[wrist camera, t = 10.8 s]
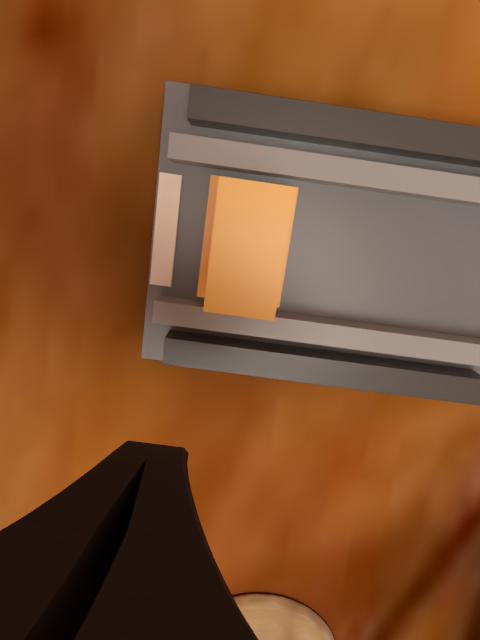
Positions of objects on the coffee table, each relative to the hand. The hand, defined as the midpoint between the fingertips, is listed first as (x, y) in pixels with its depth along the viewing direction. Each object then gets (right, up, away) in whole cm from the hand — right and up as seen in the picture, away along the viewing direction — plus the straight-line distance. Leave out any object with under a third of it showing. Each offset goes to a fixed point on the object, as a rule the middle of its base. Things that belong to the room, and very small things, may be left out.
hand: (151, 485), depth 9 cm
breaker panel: (+6, +6, +8) cm, 12 cm away
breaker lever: (+2, +6, +6) cm, 9 cm away
